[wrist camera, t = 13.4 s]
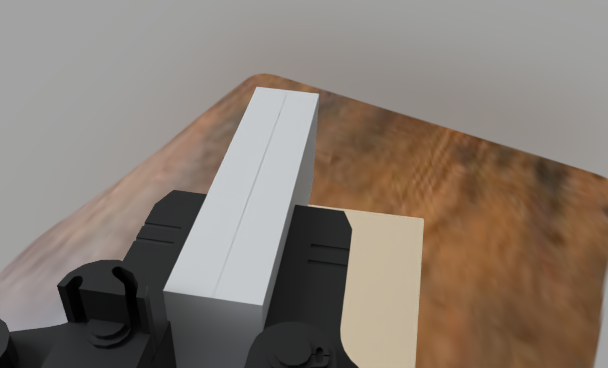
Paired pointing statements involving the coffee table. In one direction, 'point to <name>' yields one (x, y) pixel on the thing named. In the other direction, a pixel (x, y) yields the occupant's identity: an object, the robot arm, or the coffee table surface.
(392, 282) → the front flap
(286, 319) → the robot arm
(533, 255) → the coffee table surface
